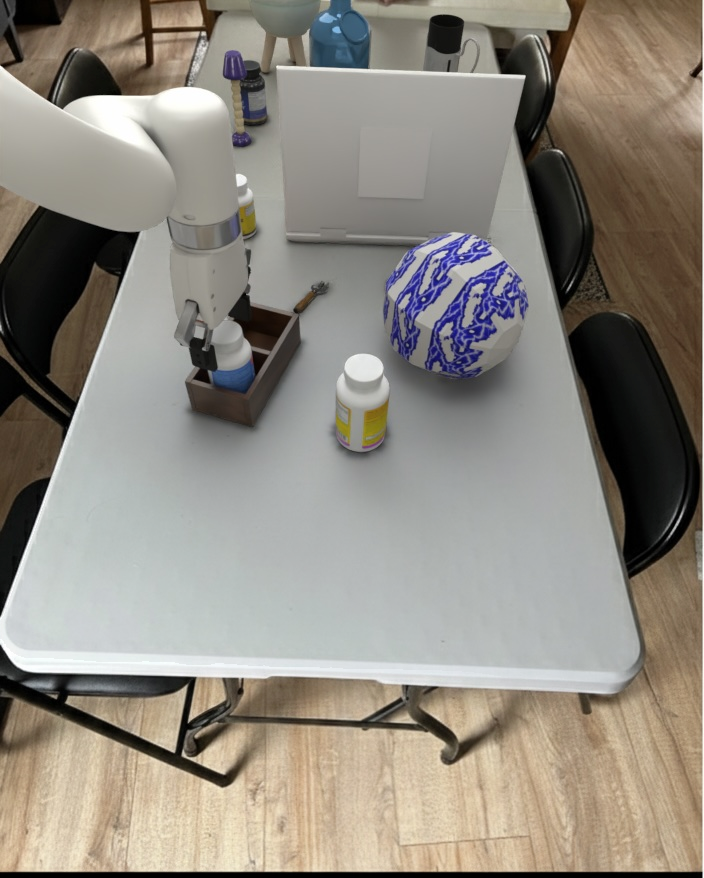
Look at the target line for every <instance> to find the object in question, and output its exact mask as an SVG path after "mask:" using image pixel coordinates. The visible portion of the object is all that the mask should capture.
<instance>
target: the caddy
mask: <svg viewBox="0 0 704 878" xmlns="http://www.w3.org/2000/svg"><path fill="white" fill-rule="evenodd" d="M250 306H251V315H252V318H251V320H250V321H249V322H246V321H242V320H239V319H235V318H232V317H229V316H228V318H227V320H230V321H234V322H236V323H238V324H239V325H240V326H241V328H242V332H243V336H244V338H245V339H246V340H247V341H248V342H249V344H250V346H251V351H252V358H253V365H254V372H255V379H254V381H253V383H252V384H251V386H250V388H249V389H248V391H247V393H246V394H243V393H239V392H236V391H232V390H229V389H225V388H222V387H218V386H215V385H211V384H210V379H209V375H208V370H206V369H201V368H198V367H195V366H194V367H193V369H192V370H191V372H189V375H187V377H186V378H185V380H184V386H185V388H186V392H187V397H188V399H189V404H190V407H191V410H194V411H196V412H199V413H203V414H206V415H210V416H213V417H216V418H220V419H223V420H227V421H230V422H234V423H237V424H240V425H243V426H247V427H250V428H253V427H254V426H255V424H256V422H257V420H258V418H259V417H260V415H261V413H262V411H263V410H264V408H265V406H266V405H267V403H268V401H269V399H270V398H271V396H272V394H273V392H274V391H275V389H276V387H277V386H278V383H279V382H280V380H281V378H282V376H283V375H284V373H285V371H286V370H287V367H288V366H289V364H290V363H291V360H292V359H293V357H294V355H295V353H296V352H297V350H298V348H299V346H301V323H300V322H301V321H300V314H299V313H298V314H296V313H294V312H291V311H287V310H284V309H279V308H275V307H271V306H268V305H263V304H260V303H257V302H253V301H250Z"/></svg>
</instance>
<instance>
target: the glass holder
mask: <svg viewBox="0 0 704 878" xmlns="http://www.w3.org/2000/svg"><path fill="white" fill-rule="evenodd" d="M464 27H465V20H464V19H463V18H462V17H460V16H458V15H454V14H446V13H445V14H443V13H442V14H435V15H432V16H431V17H429V23H428V32H427V34H426V35H427V36H426V41H425V51H424V60H423V68H422V71H427V72H453V73H459V72H458V71H459V67H460V58H461V57H463V55H464V54H465V52H466V51H465V50H466V46H467V44H468V42H469V41H472V42H473V43H474V44H475V46H476V50H477V51H476V57H475V60H474V64H473V66H472V69H471V70H470V71H469V73H474V72H475V70H476V68H477V65H478V63H479V59H480V55H481V48H480V47H481V45H480V42H479V41H478V40H477V39H476V38H474V37H469V38H467V39H465V41H464V42H463V45H462V40H463V36H464V35H463V34H464Z"/></svg>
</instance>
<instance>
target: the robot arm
mask: <svg viewBox="0 0 704 878" xmlns="http://www.w3.org/2000/svg"><path fill="white" fill-rule="evenodd" d="M232 135H233V133H232V125H231V117H230V112H229V108H228V107H227V105H226V102H225V101H224V100H223V99H222V98H221V96H219V95H218V94H216V93H214V92H213V91H211V90H209V89H205V88H201V87H194V86H179V87H173V88H169V89H165V90H163V91H160V92H158V93H157V94H151V95H114V94H113V95H106V94H103V95H101V94H100V95H88V96H82V97H80V98H77V99H75V100H73V101H71V102H69V103H68V104H67V105H65V106H64V107H63V109H62V108H61V107H58V106H57V105H55V104H54V103H52V102H50V101H49V100H47V99H46V98H44V97H43V96H41V95H40V94H38V93H37V92H35V91H34V90H32V89H31V88H30V87H28V86H27V85H26V84H24V83H22V82H21V81H20V80H19V79H17V78H16V77H15V76H13V75H12V74H11V73H10V72H9V71H7V69H5V68H4V67H3V66H1V65H0V187H2V188H3V189H6V190H7V191H9V192H11V193H13V194H15V195H16V196H19V197H21V198H22V199H24V200H27V201H28V202H31V203H33V204H35V205H37V206H39V207H42V208H44V209H48V210H50V211H52V212H55V213H58V214H61V215H63V216H67V217H69V218H72V219H76V220H79V221H81V222H85V223H87V224H91V225H94V226H96V227H97V226H98V227H100V228H104V229H107V230H112V231H117V232H124V233H125V232H126V233H136V232H145V231H148V230H150V229H153V228H155V227H158V226H159V225H160V224H161V223H164V221H166V223H167V227H168V233H169V236H170V240H171V245H170V246H169V274H170V275H169V276H170V284H171V290H172V297H173V303H174V309H175V314H176V317H177V320H178V323H177V325H176V328H175V330H174V333H173V338H174V339H175V341H177V343H179V345H180V346H182V347H185V348H188V351H189V356H190V361H191V364H192V366H194V367H198V368H201V369H206V370H209V371H213V372H216V370H217V369H218V365H217V359H216V354H215V348H214V346H213V345H212V344H211V340H212V335H213V330H214V329H215V328H216V327H218V326H219V325H220V324H221V323H222V321H223V320H226V317H227V316H228V318H229V317H232V318H235V319H239V320H242V321H246V322H249V321H250V320H251V318H252V315H251V306H250V302H251V297H250V295H249V294H250V292H251V290H252V289H251V288H252V287H251V285H250V283H249V279H250V276H251V274H252V272H251V271H252V269H251V266H250V265H251V257H252V249H251V248H247V247H246V246H245V241H244V240H245V239H243V236H242V229H241V219H240V210H239V200H238V191H237V181H236V174H237V172H236V162H235V155H234V154H235V153H234V145H233V142H232ZM198 316H200V318H201V320H200V319H198ZM197 327H199V328H203V329H204V331H203V336H202V338H200V337H196V336H195V333H196V329H197Z"/></svg>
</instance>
